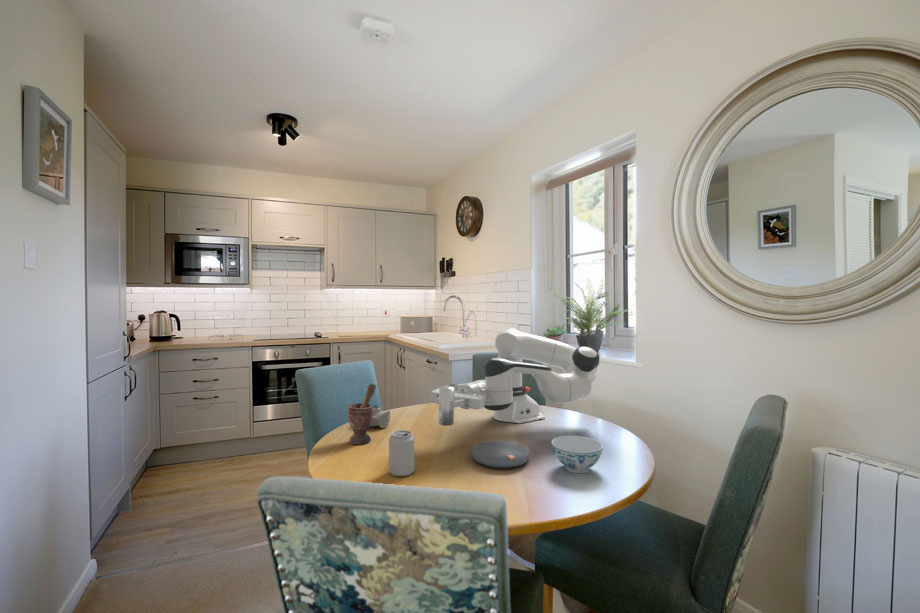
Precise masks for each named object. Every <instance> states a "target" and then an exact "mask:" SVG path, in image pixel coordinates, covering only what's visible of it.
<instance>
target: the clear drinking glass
mask: <svg viewBox="0 0 920 613" xmlns="http://www.w3.org/2000/svg"><path fill="white" fill-rule="evenodd" d="M452 401H454V387H451V386H446V385H445V386H442V385H441V386H439V404H438V425H440V426H445V427H449V426H453V425H454V422H455V421H454V420H455V419H454V418H455V417H454V416H455V407H452V406H451V405H452V404H451V402H452Z"/></svg>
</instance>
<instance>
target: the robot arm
mask: <svg viewBox="0 0 920 613" xmlns="http://www.w3.org/2000/svg"><path fill="white" fill-rule="evenodd" d="M494 344H495V348H496V349H497V357H493V358H491V359H490V358H489V359H488V360H487V362H486V363H485V365H484V366H483V372H484V379H478V380H474V381H471V382H466V383H460V384H446V385H445V386H451V387H454V401H452V402H451V404H452V405H451V406H452V407H454V408H458V407H460V408H461V409H463V410H472V409H473V410H481V409H483V408H484V409H486V410H489V411H492V412H493V411H494V412H493V416H492V418H493V419H494V420H496V421H500V422H507V423H513V424H524V423H528V422H529V423H530V422H534V420H535V421H539V419H541V420H544V418H545V417H546V416H545V415H544V414H543V413H542V412H541V411H540V408H539V404H538V403H537V401H535V399H533V398H532V397H531V396H529V395H528V394H527V393H529V392H530V391H531V388H530V387H529V386H524V385H523V374H528V375H531V376H532V377H533V378H534V380H535V382H536V384H537V387H538V389H539V391H540V394H541V395H542V396H543V397H544V399H546V400H547V401H548V402H549V403H552V404H568V403H573V402H578V401H581V400H584V399H587V398H588V397H589V396H590V395H591V393H592V386H593V383H594V382H595V379H596V375H597V371H598V366H599V365H600V354H599V353H598V351H596V350H595V349H594V348H592V347H590V346H586V345H585V346H579V347H575V346H572V345H570V344H567V343H565V342H562V341H559V340H555V339H552V338H548V337H544V336H541V335H534V334H529V333H525V332H521V331H520V330H518V329H517V328H514V327H506V328H504V329H503V330H502V331H500V332H499V333H498V334H497V335H496V337H495V342H494ZM523 360H526V361H531V362H534V363H531V362H526V361H525V362H523ZM538 363H539V364H538ZM551 367H554V368H557V369H560V370H563V372H564V373H558V372H555V371H553V370H552V368H551ZM526 392H527V393H526ZM430 401H431V402H432V403H435V404H436V405H439V388H437V389H436V388H435V389H433V390H432V391H430Z"/></svg>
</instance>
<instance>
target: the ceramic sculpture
mask: <svg viewBox="0 0 920 613" xmlns="http://www.w3.org/2000/svg"><path fill="white" fill-rule="evenodd" d="M372 408H373V412H372V414H373V415H372V422H371V426H370V427H372V428H373V427H379V428H380V429H386V428H388V426H389V425H390V423H391V410H386V411H384V410H382V408H381V407H379V406H377V405H374V406H373V407H372Z"/></svg>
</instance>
